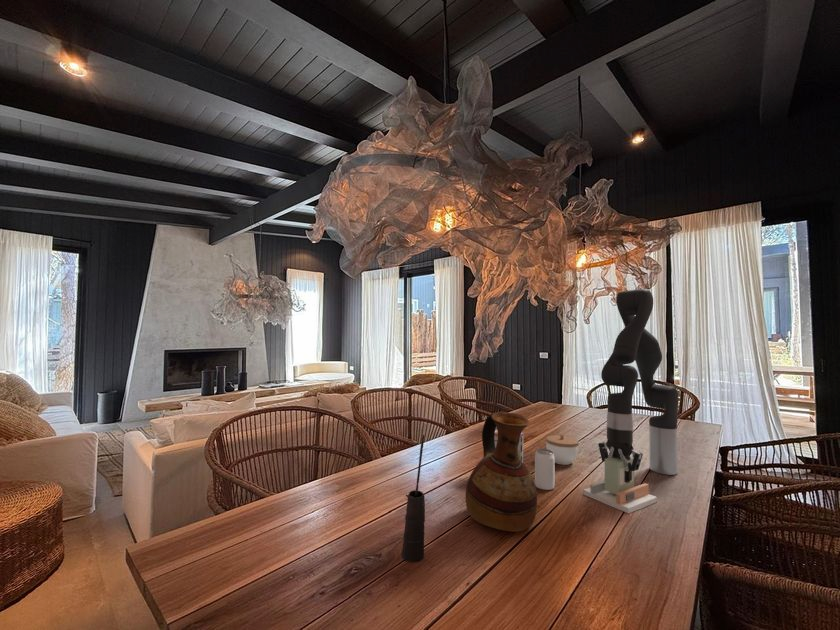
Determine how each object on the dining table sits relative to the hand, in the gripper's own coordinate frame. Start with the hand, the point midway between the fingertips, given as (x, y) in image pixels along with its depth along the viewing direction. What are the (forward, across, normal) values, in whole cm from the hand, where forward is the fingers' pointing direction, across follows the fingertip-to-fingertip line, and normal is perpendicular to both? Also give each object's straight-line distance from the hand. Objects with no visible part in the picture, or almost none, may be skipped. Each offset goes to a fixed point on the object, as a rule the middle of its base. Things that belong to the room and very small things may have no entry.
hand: (619, 479), depth 123 cm
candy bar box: (+6, -30, -20) cm, 37 cm away
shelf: (+6, 0, 0) cm, 6 cm away
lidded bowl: (+6, -32, +12) cm, 35 cm away
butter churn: (+6, -5, -76) cm, 76 cm away
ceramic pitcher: (+6, -8, -45) cm, 46 cm away
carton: (+3, 0, 0) cm, 3 cm away
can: (+6, -18, -15) cm, 24 cm away
